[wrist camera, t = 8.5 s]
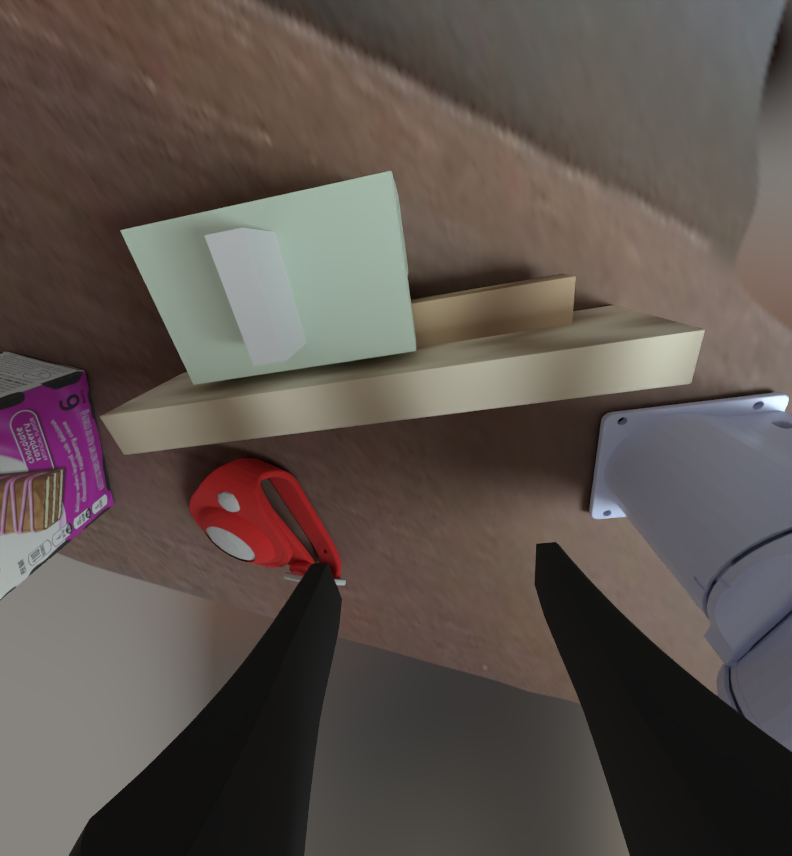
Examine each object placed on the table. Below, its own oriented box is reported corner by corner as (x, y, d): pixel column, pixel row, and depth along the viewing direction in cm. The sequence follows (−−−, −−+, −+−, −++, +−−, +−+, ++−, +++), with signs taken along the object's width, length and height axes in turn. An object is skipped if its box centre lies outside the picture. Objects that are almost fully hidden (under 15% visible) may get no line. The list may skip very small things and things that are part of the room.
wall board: (619, 261, 16) (721, 266, 11) (608, 344, 18) (691, 383, 12) (168, 338, 19) (71, 372, 14) (198, 402, 21) (124, 454, 15)
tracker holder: (191, 553, 26) (151, 473, 19) (230, 509, 29) (207, 427, 23) (331, 618, 24) (340, 555, 18) (356, 564, 28) (372, 494, 21)
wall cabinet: (397, 193, 15) (385, 150, 9) (415, 326, 18) (416, 370, 11) (199, 235, 16) (54, 225, 10) (244, 354, 19) (154, 408, 13)
